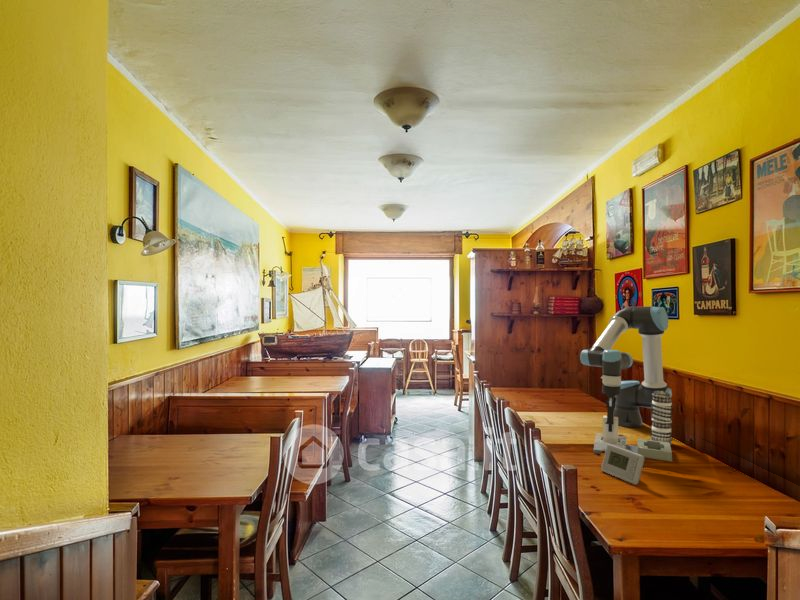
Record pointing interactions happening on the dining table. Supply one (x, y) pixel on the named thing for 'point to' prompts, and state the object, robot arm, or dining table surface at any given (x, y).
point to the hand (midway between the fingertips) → (610, 436)
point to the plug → (614, 430)
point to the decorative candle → (661, 417)
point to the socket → (602, 445)
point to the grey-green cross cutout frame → (655, 449)
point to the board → (628, 447)
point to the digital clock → (623, 464)
